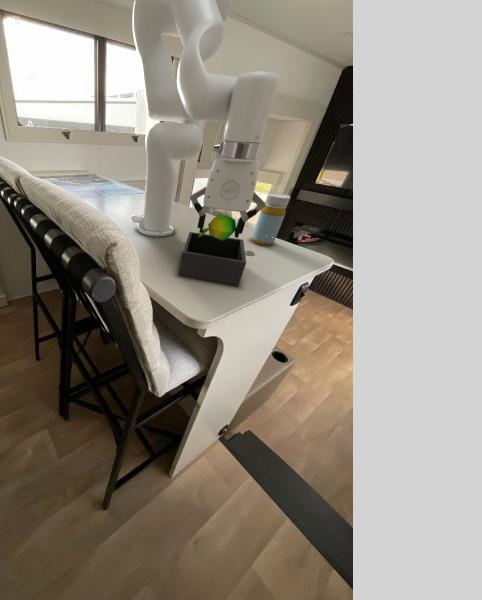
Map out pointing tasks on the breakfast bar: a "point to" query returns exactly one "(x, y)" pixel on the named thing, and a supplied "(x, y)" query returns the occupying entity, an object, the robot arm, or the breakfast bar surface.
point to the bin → (213, 259)
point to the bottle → (270, 219)
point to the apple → (221, 227)
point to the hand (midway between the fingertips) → (218, 233)
